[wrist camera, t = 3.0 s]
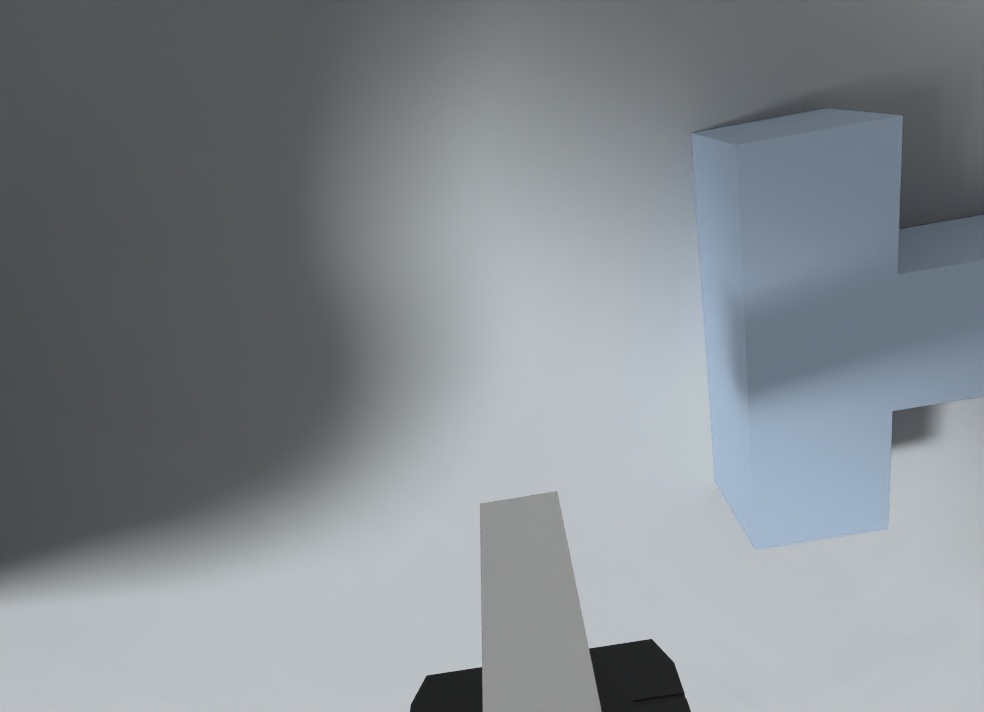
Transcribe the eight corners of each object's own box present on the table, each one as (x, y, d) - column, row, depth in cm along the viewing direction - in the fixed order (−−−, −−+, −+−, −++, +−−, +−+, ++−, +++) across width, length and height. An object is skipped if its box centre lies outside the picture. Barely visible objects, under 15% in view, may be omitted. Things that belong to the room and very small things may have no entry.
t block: (714, 480, 25) (755, 549, 22) (690, 132, 21) (736, 145, 17) (1000, 434, 25) (1092, 497, 21) (1036, 70, 21) (1159, 69, 17)
